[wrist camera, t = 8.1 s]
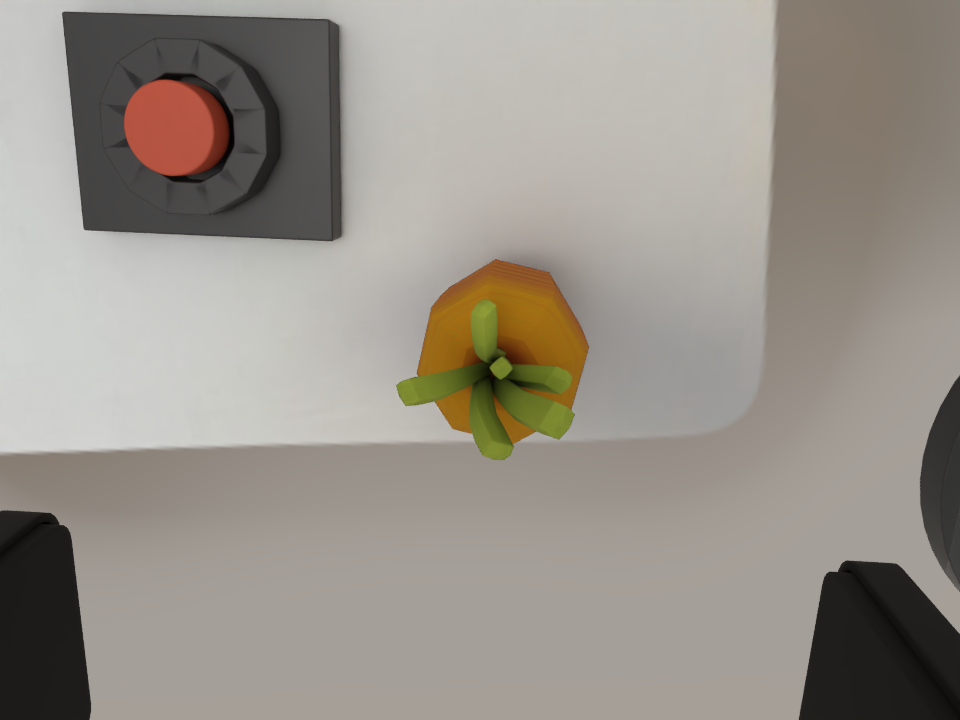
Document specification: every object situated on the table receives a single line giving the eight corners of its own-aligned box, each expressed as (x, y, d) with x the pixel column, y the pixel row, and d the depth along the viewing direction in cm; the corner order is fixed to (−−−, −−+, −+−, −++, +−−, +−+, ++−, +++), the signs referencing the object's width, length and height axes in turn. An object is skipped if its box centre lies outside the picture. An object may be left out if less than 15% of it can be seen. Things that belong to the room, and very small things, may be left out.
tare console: (338, 24, 30) (317, 12, 27) (341, 237, 32) (322, 246, 29) (82, 17, 30) (34, 3, 27) (101, 226, 32) (59, 234, 30)
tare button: (228, 84, 28) (211, 81, 27) (232, 175, 29) (216, 177, 27) (140, 81, 28) (118, 78, 27) (147, 172, 29) (127, 174, 28)
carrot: (427, 306, 32) (341, 438, 18) (498, 207, 31) (467, 264, 17) (524, 376, 33) (516, 558, 19) (598, 281, 32) (651, 397, 17)
